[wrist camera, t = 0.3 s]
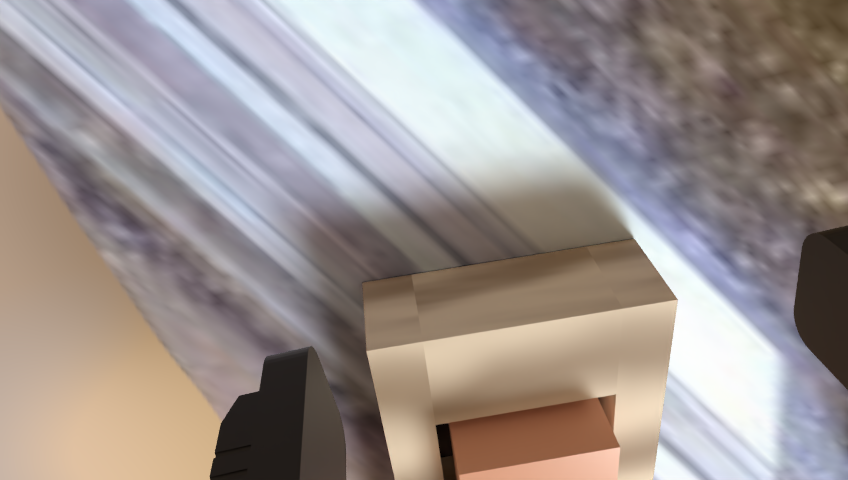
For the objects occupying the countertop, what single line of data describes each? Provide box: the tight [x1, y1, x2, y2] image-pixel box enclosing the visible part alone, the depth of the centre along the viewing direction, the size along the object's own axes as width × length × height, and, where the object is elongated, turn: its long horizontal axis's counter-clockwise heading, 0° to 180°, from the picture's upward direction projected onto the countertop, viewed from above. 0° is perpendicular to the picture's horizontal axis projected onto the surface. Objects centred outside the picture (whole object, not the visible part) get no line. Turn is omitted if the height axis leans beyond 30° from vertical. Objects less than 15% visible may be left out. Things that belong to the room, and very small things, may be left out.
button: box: [449, 398, 620, 480], centre depth 34 cm, size 8×8×4 cm
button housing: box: [362, 239, 678, 480], centre depth 36 cm, size 20×14×5 cm
